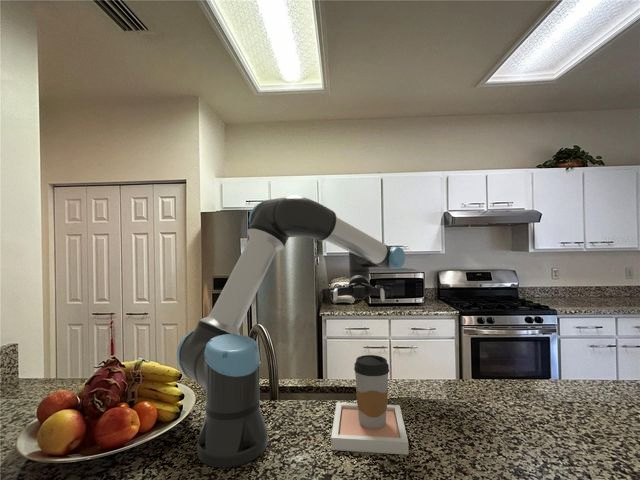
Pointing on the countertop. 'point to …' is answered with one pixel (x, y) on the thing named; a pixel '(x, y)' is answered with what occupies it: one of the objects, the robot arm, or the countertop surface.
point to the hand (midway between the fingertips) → (358, 296)
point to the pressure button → (353, 427)
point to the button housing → (369, 442)
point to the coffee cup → (371, 390)
